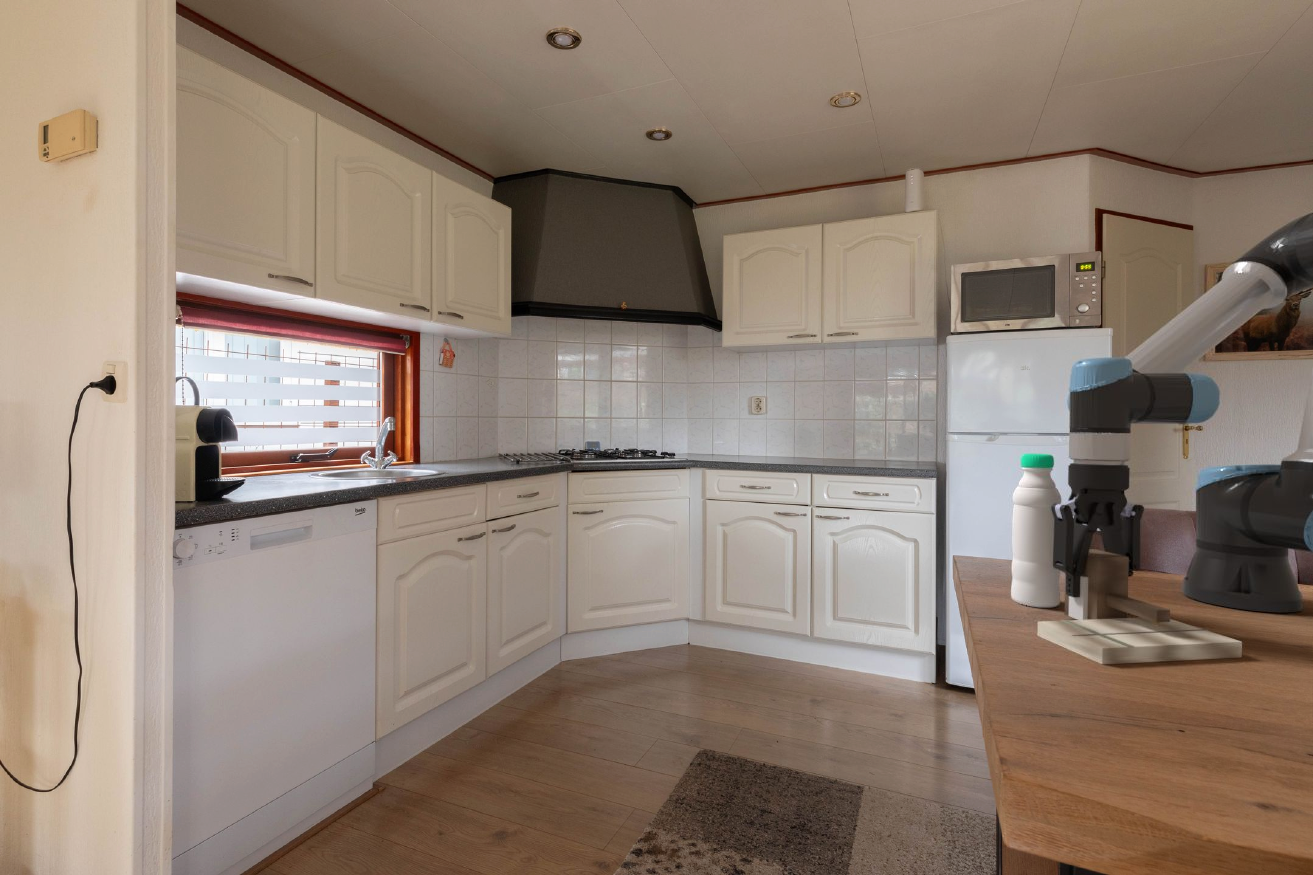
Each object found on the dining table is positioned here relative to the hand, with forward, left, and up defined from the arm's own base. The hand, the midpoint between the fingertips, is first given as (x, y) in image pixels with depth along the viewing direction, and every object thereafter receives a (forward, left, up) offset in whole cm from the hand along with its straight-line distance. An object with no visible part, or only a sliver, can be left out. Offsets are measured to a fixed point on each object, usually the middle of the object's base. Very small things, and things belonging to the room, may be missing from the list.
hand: (1095, 617), depth 95 cm
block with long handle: (0, +4, 0) cm, 4 cm away
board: (+3, +9, -1) cm, 10 cm away
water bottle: (+1, -12, -1) cm, 12 cm away
